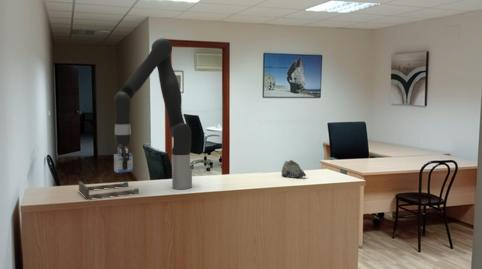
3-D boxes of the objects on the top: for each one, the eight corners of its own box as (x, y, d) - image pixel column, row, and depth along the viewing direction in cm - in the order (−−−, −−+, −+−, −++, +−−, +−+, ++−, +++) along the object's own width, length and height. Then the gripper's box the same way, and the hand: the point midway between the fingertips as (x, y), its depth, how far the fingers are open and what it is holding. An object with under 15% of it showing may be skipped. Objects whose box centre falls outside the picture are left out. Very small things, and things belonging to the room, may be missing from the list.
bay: (127, 186, 230) (127, 176, 230) (138, 193, 213) (138, 183, 213) (79, 191, 218) (78, 181, 218) (87, 199, 201) (86, 189, 201)
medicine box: (117, 173, 212) (117, 155, 212) (114, 171, 216) (113, 153, 215) (133, 171, 217) (132, 153, 216) (129, 170, 221) (129, 152, 220)
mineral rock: (307, 179, 250) (307, 161, 249) (290, 180, 246) (290, 162, 245) (295, 175, 262) (295, 158, 261) (279, 176, 258) (279, 159, 257)
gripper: (134, 134, 211) (135, 170, 212) (126, 132, 223) (127, 165, 224) (118, 135, 207) (119, 171, 208) (111, 132, 219) (112, 166, 221)
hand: (123, 168), depth 216 cm, fingers closed on medicine box, 4 cm apart
